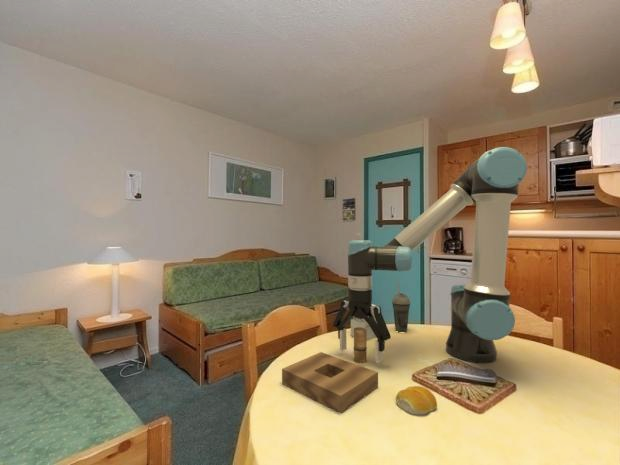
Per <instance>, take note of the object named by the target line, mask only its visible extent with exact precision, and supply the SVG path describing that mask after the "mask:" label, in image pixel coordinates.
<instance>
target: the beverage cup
mask: <svg viewBox="0 0 620 465" xmlns="http://www.w3.org/2000/svg"><path fill="white" fill-rule="evenodd" d="M397 289H398V291H397V292H398V293H397V294H395V295H394V297H393V299H392V302H391V304H392V309H393V318H394V319H393V320H394V328H395V332H396V331H398V332H397V333H399V332H406V331H407V332H408V326H409V325H408V324H409V314H410V308H411V300H410V298H409V297H408V295H407V294H404V293H401V291H400V283H399V282H397ZM407 332H406V333H407Z"/></svg>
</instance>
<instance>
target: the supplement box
mask: <svg viewBox="0 0 620 465" xmlns="http://www.w3.org/2000/svg"><path fill="white" fill-rule="evenodd" d="M371 304H372V303H371ZM372 307H377V304H372ZM372 312H373V311H371V313H372ZM372 315H373V316H374V314H373V313H372ZM368 317H369V316H368ZM374 320H375V321H376V319H375V317H374ZM357 327H362V328H366V329H367V339H368V340H370V338H371V339H374V338H375V334H374V332H373V331H372V329H371V328H370V326H369V324H368V323H367V322H366V321H365V320H364V319H360V318H355V317H353V318H352V319H351V320H350V337H353V338H354V328H357Z"/></svg>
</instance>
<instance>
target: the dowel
mask: <svg viewBox="0 0 620 465" xmlns="http://www.w3.org/2000/svg"><path fill="white" fill-rule="evenodd" d="M367 342H368V340H367V329H366V328H362V327H357V328H354V337H353V362H355V363H358V364H365V363H367V361H368V360H367V355H368V354H367V352H368V351H367V350H368V347H367Z"/></svg>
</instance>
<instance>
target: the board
mask: <svg viewBox="0 0 620 465" xmlns="http://www.w3.org/2000/svg"><path fill="white" fill-rule="evenodd" d="M281 384H282V385H284V386H286V387H288V388H290V389H292V390H293V391H296V392H298V393H300V394H302V395H304V396H306V397H308V398H310V399H312V400H314V401H315V402H317V403H319V404H322V405H323V406H325V407H327V408H330V409H331V410H332V411H335V412H337V413H339V414H342V413H344V412H346V411H347V410H348V409H350V408H351V407H352V406H354V405H355V404H357V403H358V402H360V401H361V400H363V398H366V396H368V395H369V394H371V393H372V392H374V391H375V390H377V389H379V372H378V371H376V370H373V369H370V368H368V367H365V366H362V365H359V364H356V363H353V362H350V361H349V360H345V359H343V358H339V357H336V356H334V355H330V354H328V353H325V352H322V351H319V352H318V353H315V354H313V355H311V356H309V357H306V358H303V359H301V360H299V361H297V362H294V363H292V364H290V365H288V366H285V367H283V368H282V369H281Z"/></svg>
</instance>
